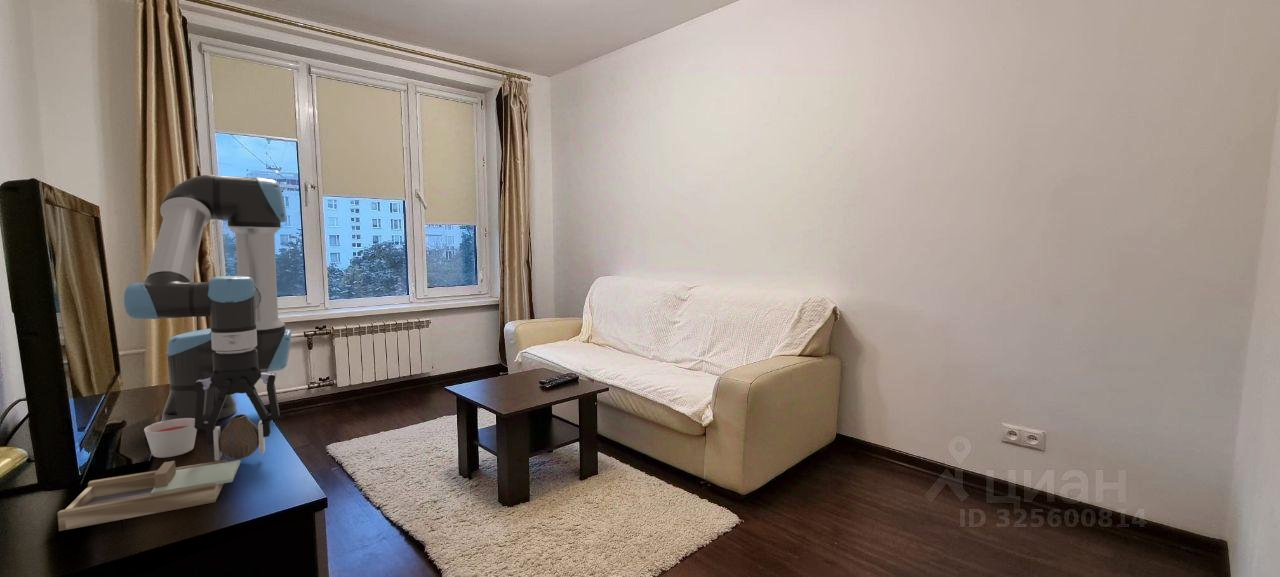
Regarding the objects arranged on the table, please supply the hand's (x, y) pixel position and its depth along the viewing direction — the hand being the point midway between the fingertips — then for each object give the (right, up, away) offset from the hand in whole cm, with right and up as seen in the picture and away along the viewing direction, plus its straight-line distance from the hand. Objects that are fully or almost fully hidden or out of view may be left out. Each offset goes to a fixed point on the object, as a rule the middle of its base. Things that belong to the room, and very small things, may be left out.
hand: (240, 454), depth 110 cm
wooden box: (-4, -3, -16) cm, 16 cm away
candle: (-19, -1, +5) cm, 20 cm away
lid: (+2, 0, -12) cm, 13 cm away
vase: (0, 0, 0) cm, 1 cm away
